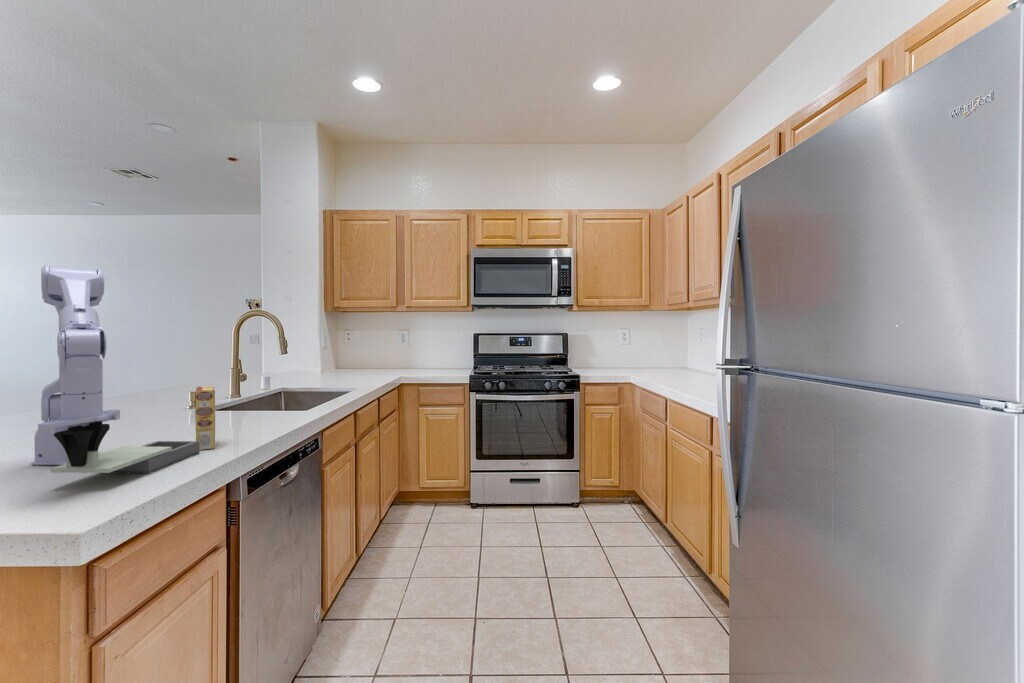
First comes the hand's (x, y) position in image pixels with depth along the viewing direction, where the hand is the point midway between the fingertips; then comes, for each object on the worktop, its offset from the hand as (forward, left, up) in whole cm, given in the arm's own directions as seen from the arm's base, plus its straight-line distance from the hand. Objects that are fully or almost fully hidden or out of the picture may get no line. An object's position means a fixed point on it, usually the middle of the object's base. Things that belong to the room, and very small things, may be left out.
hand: (82, 464), depth 86 cm
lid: (0, +8, -1) cm, 8 cm away
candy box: (+2, +33, -5) cm, 33 cm away
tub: (0, +18, -5) cm, 18 cm away
